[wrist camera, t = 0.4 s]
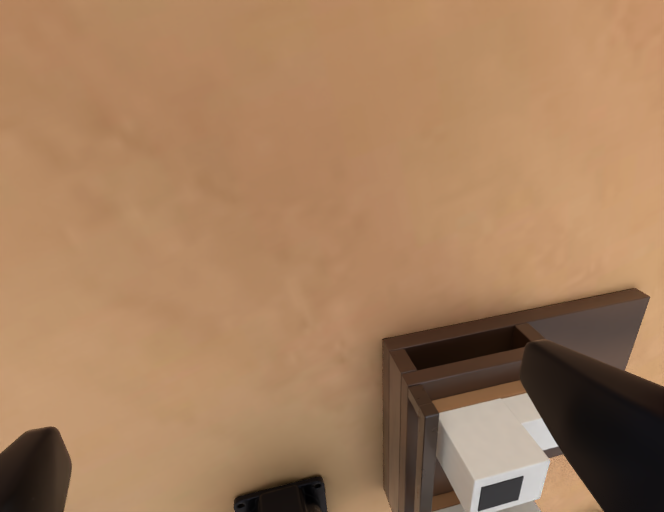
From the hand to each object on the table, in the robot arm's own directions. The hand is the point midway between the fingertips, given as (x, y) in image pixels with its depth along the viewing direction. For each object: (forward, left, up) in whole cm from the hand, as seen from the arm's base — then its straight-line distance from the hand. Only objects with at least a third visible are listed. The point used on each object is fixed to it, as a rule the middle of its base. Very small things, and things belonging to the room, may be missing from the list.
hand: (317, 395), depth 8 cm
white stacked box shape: (-14, -11, -10) cm, 20 cm away
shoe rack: (-18, -16, -14) cm, 28 cm away
